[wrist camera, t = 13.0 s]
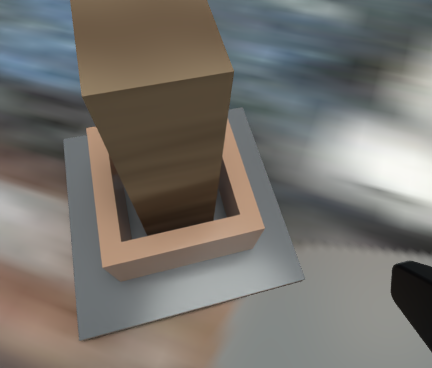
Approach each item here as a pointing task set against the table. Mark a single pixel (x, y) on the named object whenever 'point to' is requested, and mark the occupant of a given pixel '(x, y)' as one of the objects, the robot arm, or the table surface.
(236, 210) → the square socket holder
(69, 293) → the table surface
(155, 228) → the walnut wood block
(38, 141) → the table surface
